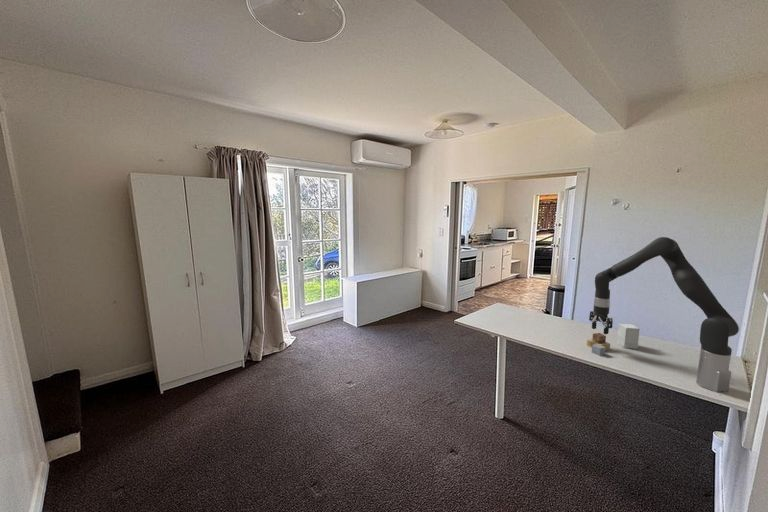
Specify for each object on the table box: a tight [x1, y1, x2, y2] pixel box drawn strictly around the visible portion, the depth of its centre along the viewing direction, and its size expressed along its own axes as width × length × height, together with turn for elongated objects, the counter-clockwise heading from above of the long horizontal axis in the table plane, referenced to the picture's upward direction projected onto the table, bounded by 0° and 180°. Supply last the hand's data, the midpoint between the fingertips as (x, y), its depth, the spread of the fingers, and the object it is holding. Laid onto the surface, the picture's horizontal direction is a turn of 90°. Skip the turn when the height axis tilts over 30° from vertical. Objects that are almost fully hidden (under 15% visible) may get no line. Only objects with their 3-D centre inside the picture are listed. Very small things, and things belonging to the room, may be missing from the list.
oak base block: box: [586, 338, 611, 351], centre depth 178 cm, size 8×8×4 cm
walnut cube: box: [591, 332, 607, 344], centre depth 177 cm, size 4×4×4 cm
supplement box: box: [616, 323, 640, 350], centre depth 179 cm, size 7×7×13 cm
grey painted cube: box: [591, 344, 606, 357], centre depth 170 cm, size 4×4×4 cm
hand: (599, 331), depth 176 cm, fingers open, 8 cm apart
